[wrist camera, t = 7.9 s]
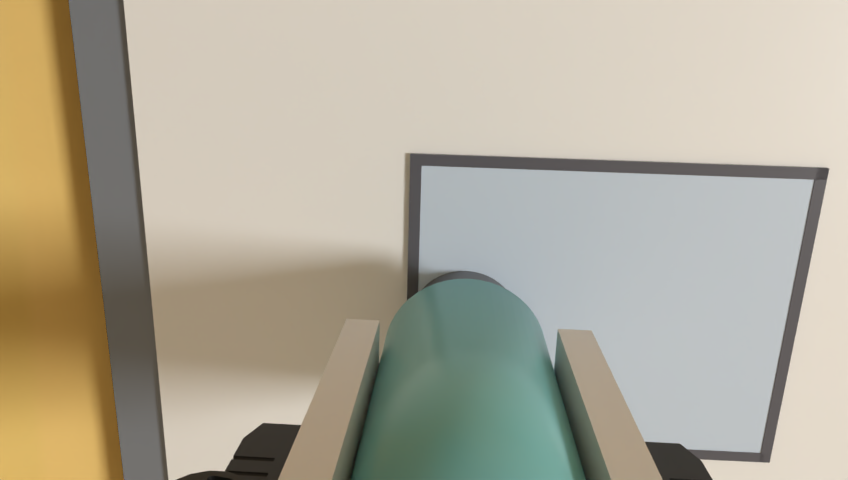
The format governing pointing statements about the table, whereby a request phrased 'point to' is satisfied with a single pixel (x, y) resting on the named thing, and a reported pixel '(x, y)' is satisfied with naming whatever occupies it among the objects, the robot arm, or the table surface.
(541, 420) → the marker
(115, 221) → the sheet
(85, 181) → the table surface
